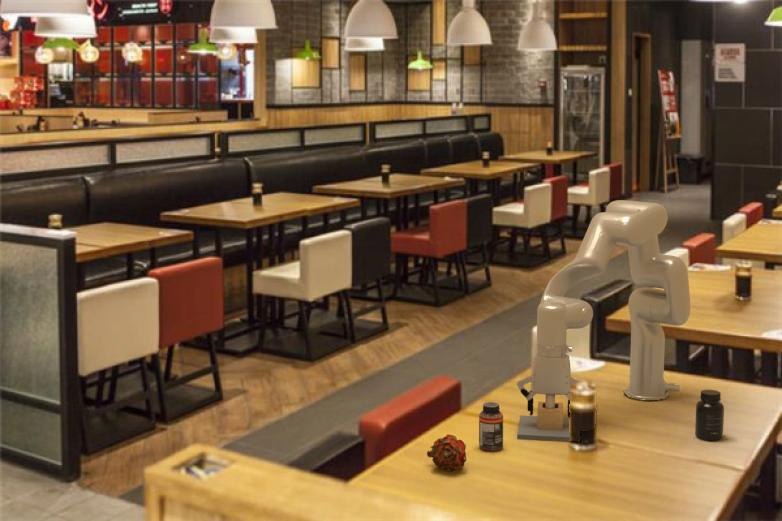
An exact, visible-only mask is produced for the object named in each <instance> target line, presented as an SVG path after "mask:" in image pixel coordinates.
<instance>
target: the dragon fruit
mask: <svg viewBox="0 0 782 521" xmlns="http://www.w3.org/2000/svg"><path fill="white" fill-rule="evenodd" d="M466 448H467V447H466V444H465V442H464V441H463V440H462V439H458V438H457V437H456V435H453V434H450V433H449V434H446V435H445V436H443V437H442V438H441V437H440V438H437V439H436V440H435V441H434V442H433V445H431V446H430V449H431V450H427V451H426V455H427V457H428V458H432V462H433V464H434V466H436V467H437V468H439V469H443V470H444V471H447V472H453V471H455V470H458V468H461V467H464V466H465V464H466V463H465V462H467V453H466Z"/></svg>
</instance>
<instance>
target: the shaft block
mask: <svg viewBox="0 0 782 521" xmlns="http://www.w3.org/2000/svg"><path fill="white" fill-rule="evenodd" d="M544 402H545V408H555V402H556V395H552V394H545V401H544ZM569 418H570V417H563V431H558V430H537V415H520V416H519V419H518V420H519V421H518V427H517V433H516V434H517V435H516V438H517V440H528V441H531V440H532V441H546V442H547V441H548V442H549V441H550V442H568V443H570V442H569V440H570V432H569Z"/></svg>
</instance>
